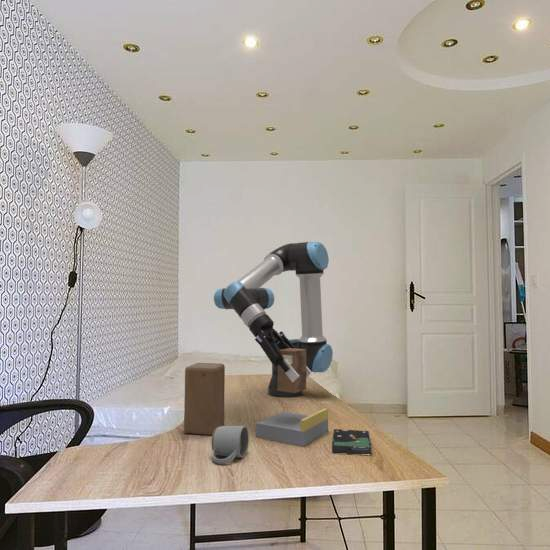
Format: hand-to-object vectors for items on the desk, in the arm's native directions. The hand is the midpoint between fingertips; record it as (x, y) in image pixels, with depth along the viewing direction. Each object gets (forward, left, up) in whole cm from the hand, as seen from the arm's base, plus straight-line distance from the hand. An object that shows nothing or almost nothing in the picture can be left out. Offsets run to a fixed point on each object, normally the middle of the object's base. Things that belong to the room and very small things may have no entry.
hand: (302, 377), depth 130 cm
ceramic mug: (+25, -8, -18) cm, 32 cm away
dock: (0, -3, -17) cm, 18 cm away
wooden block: (+11, -28, -18) cm, 35 cm away
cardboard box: (0, -4, -4) cm, 5 cm away
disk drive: (0, +15, -18) cm, 24 cm away
